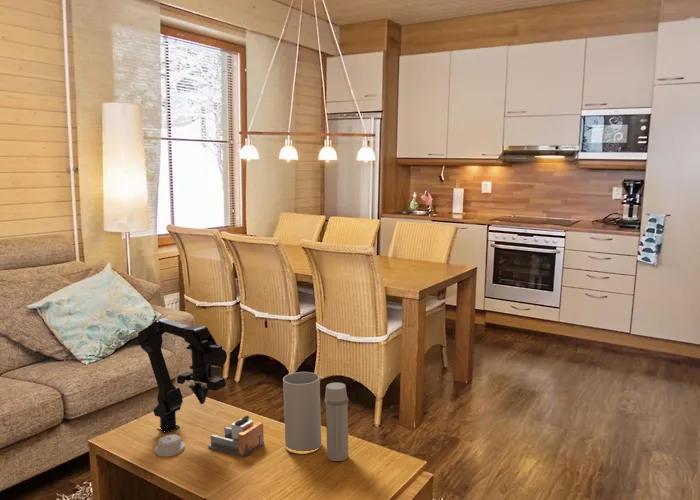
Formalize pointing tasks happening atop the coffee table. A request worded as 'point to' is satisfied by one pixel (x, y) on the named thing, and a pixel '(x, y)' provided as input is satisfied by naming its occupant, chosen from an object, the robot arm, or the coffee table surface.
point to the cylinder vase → (302, 411)
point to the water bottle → (336, 421)
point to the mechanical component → (169, 445)
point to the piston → (240, 426)
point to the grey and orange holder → (245, 445)
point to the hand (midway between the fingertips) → (202, 403)
